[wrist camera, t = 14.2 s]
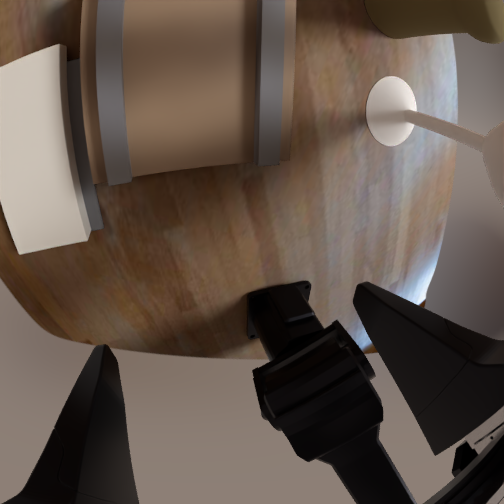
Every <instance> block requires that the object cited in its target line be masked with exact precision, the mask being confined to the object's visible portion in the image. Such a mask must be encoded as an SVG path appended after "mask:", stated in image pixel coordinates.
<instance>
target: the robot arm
mask: <svg viewBox="0 0 504 504" xmlns="http://www.w3.org/2000/svg"><path fill="white" fill-rule="evenodd" d="M310 290H311V284H310V282H309V281H303V282H299V283H294V284H290V285H285V286H281V287H276V288H271V289H267V290H262V291H257V292H253V293H250V294H249V295H248V296H247V336H248V339H255V338H259V339H260V341H261V343H262V345H263V348H264V350H265V352H266V354H267V356H268V359H269V361H270V362H269V363H266V364H265V365H263V366H261V367H259V368H258V367H257V368H255V369H254V370H252V372H253V376H254V378H253V380H254V384H255V389H256V392H257V397H258V401H259V405H260V409H261V415H262V417H263V419H265V420H268V421H269V422H270V424H271V425H272V426H273V427H274V428H275V429H276V430H278V431H283V433H284V434H285V436H286V437H287V439H288V440H289V442H290V444H291V445H292V447H293V449H294V451H295V453H296V454H297V456H299V457H300V458H302V459H304V460H305V461H307V462H310V461H312V460H314V459H317V460H319V461H322V462H324V463H327V464H330V465H331V466H332V467H333V469H334V470H335V472H336V473H337V475H338V476H339V478H340V479H341V481H342V483H343V484H344V486H345V487H346V489H347V490H348V492H349V493H350V495H351V496H352V498H353V499H354V501H355V502H356V504H417V503H416V501H415V499H414V498H413V496H412V494H411V493H410V491H409V489H408V488H407V486H406V484H405V482H404V481H403V479H402V477H401V476H400V474H399V472H398V471H397V469H396V467H395V465H394V464H393V462H392V461H391V459H390V457H389V455H388V454H387V452H386V450H385V449H384V447H383V445H382V444H381V442H380V441H379V430H380V423H381V422H382V421H383V407H382V403H381V399H380V397H379V396H378V394H377V392H376V390H375V389H374V387H373V385H372V384H371V382H370V380H371V379H373V378H374V377H375V372H374V370H373V368H372V366H371V365H370V363H369V361H368V360H367V358H366V356H365V355H364V353H363V352H362V350H361V349H360V348H359V346H358V345H357V344H356V342H355V341H354V340H353V339H352V337H351V336H350V335H349V334H348V332H347V331H346V330H345V329H344V328H343V326H342V325H341V324H340V323H339V321H338V320H336V321H334V322H332V324H331V325H330V326H328V327H327V328H325V329H324V327H323V326H322V324H321V323H320V321H319V320H318V318H317V317H316V315H315V313H314V311H313V310H312V308H311V307H310V305H309V304H308V300H309V295H310ZM253 297H254V298H253ZM353 304H354V307H355V309H356V311H357V313H358V315H359V317H360V319H361V321H362V324H363V326H364V328H365V330H366V332H367V334H368V336H369V338H370V340H371V341H372V343H373V345H374V346H375V348H376V350H377V351H378V353H379V355H380V356H381V358H382V360H383V361H384V363H385V365H386V366H387V368H388V370H389V372H390V373H391V375H392V377H393V379H394V380H395V382H396V384H397V386H398V387H399V389H400V391H401V392H402V394H403V396H404V398H405V400H406V402H407V403H408V405H409V407H410V409H411V411H412V413H413V414H414V416H415V417H416V420H417V422H418V424H419V426H420V428H421V430H422V432H423V434H424V436H425V437H426V439H427V441H428V443H429V445H430V447H431V449H432V451H433V453H434V455H435V456H436V455H438V454H439V453H441V452H442V451H444V450H446V449H447V448H449V447H450V446H452V445H453V444H455V443H456V442H458V441H459V440H461V439H462V438H465V439H466V440H465V441H464V442H463V443H461V444H460V445H459V446H458V447H457V448H456V452H455V458H454V463H453V469H452V474H453V476H454V477H455V478H454V479H453V480H452V481H450V482H449V483H448V484H447V485H446V486H445V487H444V488H442V489H441V490H440V491H439V492H437V493H436V494H435V495H434V496H432V497H431V498H430V499H429V500H427V501H426V502H425V503H423V504H499V502H500V501H501V500H502V499H503V498H504V340H495V339H492V338H490V337H487V336H485V335H482V334H480V333H477V332H474V331H472V330H470V329H467V328H465V327H462V326H460V325H458V324H456V323H454V322H452V321H450V320H448V319H445V318H443V317H441V316H439V315H437V314H435V313H433V312H431V311H429V310H427V309H425V308H423V307H421V306H419V305H416V304H414V303H412V302H410V301H408V300H406V299H404V298H402V297H400V296H398V295H395V294H393V293H391V292H389V291H387V290H385V289H383V288H380V287H378V286H376V285H374V284H372V283H370V282H363V283H360V284H358V285H357V287H356V290H355V294H354V298H353ZM54 428H55V429H53V431H52V433H51V435H50V437H49V440H48V442H47V444H46V446H45V448H44V450H43V452H42V454H41V456H40V458H39V460H38V462H37V464H36V466H35V468H34V469H33V471H32V473H31V475H30V477H29V479H28V481H27V483H26V485H25V487H24V488H23V489H22V491H21V492H20V493H19V494H18V495H16V496H14V497H13V498H11V499H9V500H7V501H6V502H4V503H2V504H139V500H138V496H137V491H136V486H135V481H134V475H133V469H132V463H131V457H130V450H129V442H128V433H127V424H126V414H125V404H124V398H123V392H122V386H121V380H120V374H119V367H118V362H117V359H116V357H115V356H114V354H113V353H112V351H111V349H110V348H109V346H108V345H106V344H104V345H98V346H96V347H95V348H94V350H93V351H92V353H91V355H90V357H89V359H88V361H87V362H86V364H85V366H84V368H83V370H82V371H81V374H80V375H79V377H78V379H77V381H76V383H75V385H74V387H73V389H72V391H71V393H70V395H69V397H68V399H67V401H66V403H65V405H64V407H63V409H62V411H61V413H60V415H59V418H58V420H57V422H56V424H55V426H54Z"/></svg>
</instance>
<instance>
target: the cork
mask: <svg viewBox="0 0 504 504" xmlns="http://www.w3.org/2000/svg"><path fill="white" fill-rule="evenodd" d="M364 4H365V7H366V10H367V13H368V15H369V17H370V18H371V20H372V22H373V23H374V24H375V26H376V27H377V28H378V29H379V30H380V31H381V32H383V33H384V34H385V35H387V36H388V37H391V38H394V39H403V38H410V37H417V36H426V35H437V34H452V33H468V34H470V35H471V36H472V37H474V38H475V39H477V40H479V41H482V42H486V43H491V44H499V43H501V42H503V41H504V3H503V1H502V0H364Z"/></svg>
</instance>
